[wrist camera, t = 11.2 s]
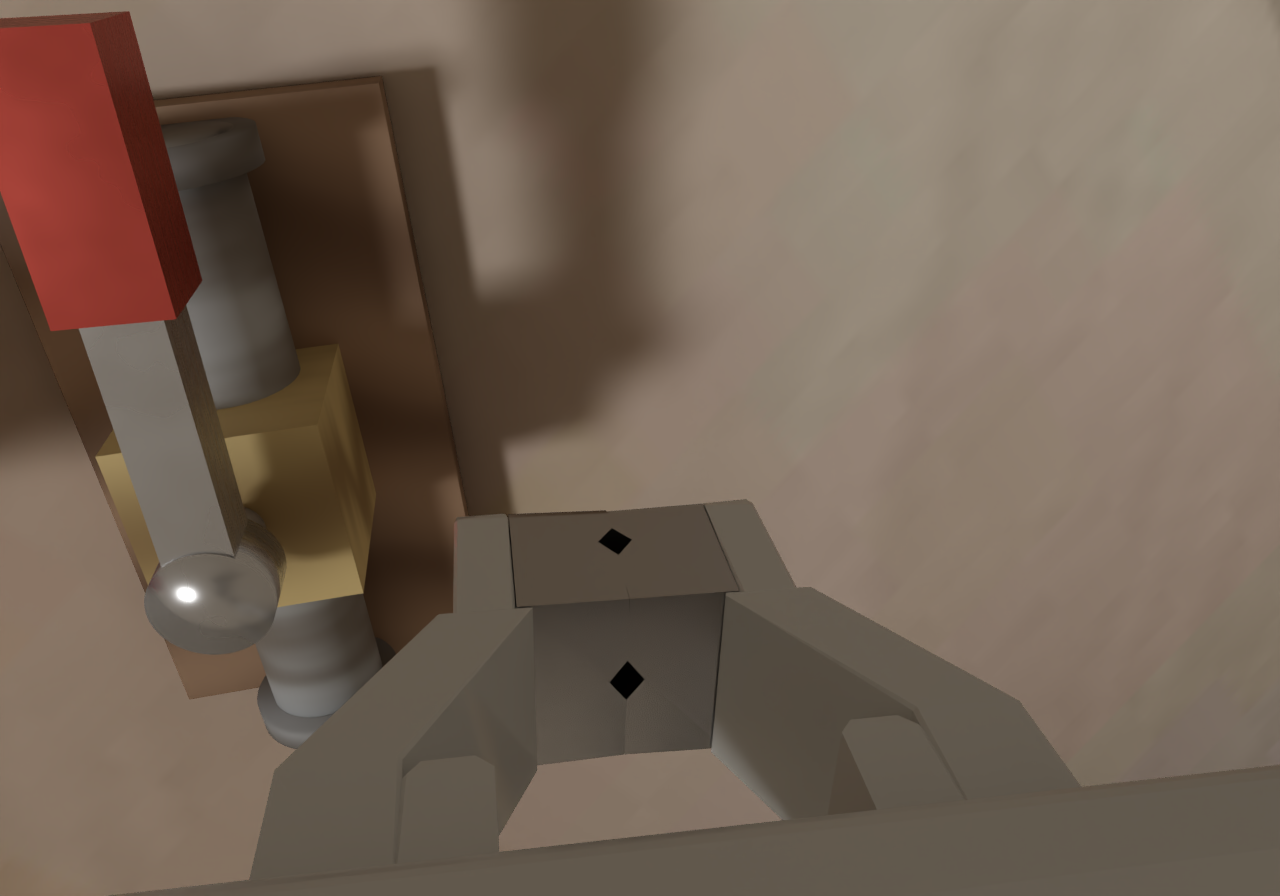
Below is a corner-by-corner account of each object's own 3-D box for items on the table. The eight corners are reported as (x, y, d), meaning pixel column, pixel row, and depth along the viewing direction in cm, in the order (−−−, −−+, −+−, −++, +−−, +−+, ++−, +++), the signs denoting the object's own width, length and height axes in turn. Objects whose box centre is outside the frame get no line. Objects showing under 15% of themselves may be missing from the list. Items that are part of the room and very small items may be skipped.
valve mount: (490, 624, 41) (499, 789, 33) (198, 673, 40) (136, 858, 32) (381, 76, 30) (357, 131, 22) (-25, 119, 29) (-201, 194, 21)
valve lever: (298, 593, 28) (285, 652, 26) (183, 609, 28) (160, 669, 26) (144, 10, 21) (106, 22, 18) (-17, 19, 20) (-76, 32, 18)
